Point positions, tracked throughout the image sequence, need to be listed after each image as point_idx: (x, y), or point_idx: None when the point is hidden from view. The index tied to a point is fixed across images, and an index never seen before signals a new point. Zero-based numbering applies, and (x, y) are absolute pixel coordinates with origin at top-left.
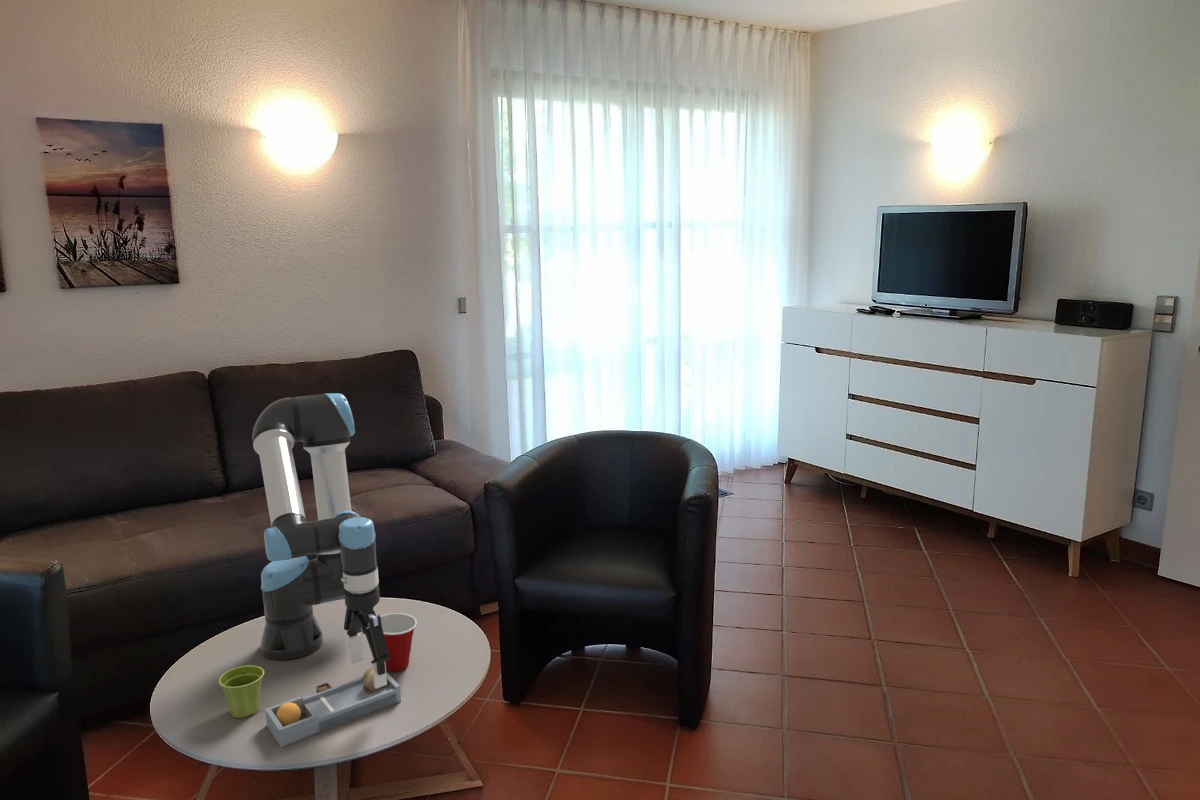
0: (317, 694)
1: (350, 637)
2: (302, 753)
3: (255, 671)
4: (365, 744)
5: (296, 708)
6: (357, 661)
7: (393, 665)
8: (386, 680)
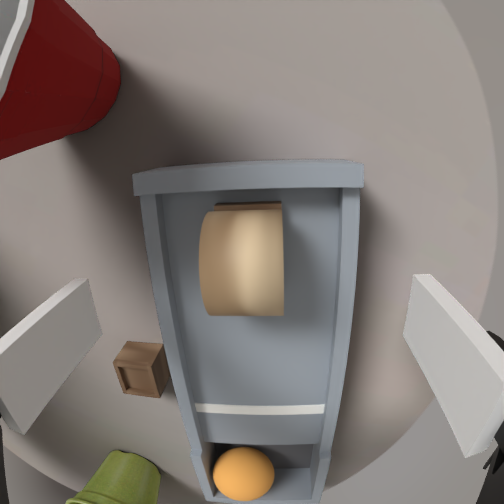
0: (191, 422)
1: (14, 427)
2: (371, 449)
3: (79, 495)
4: None
5: (258, 482)
6: (93, 309)
7: (101, 103)
8: (441, 287)
